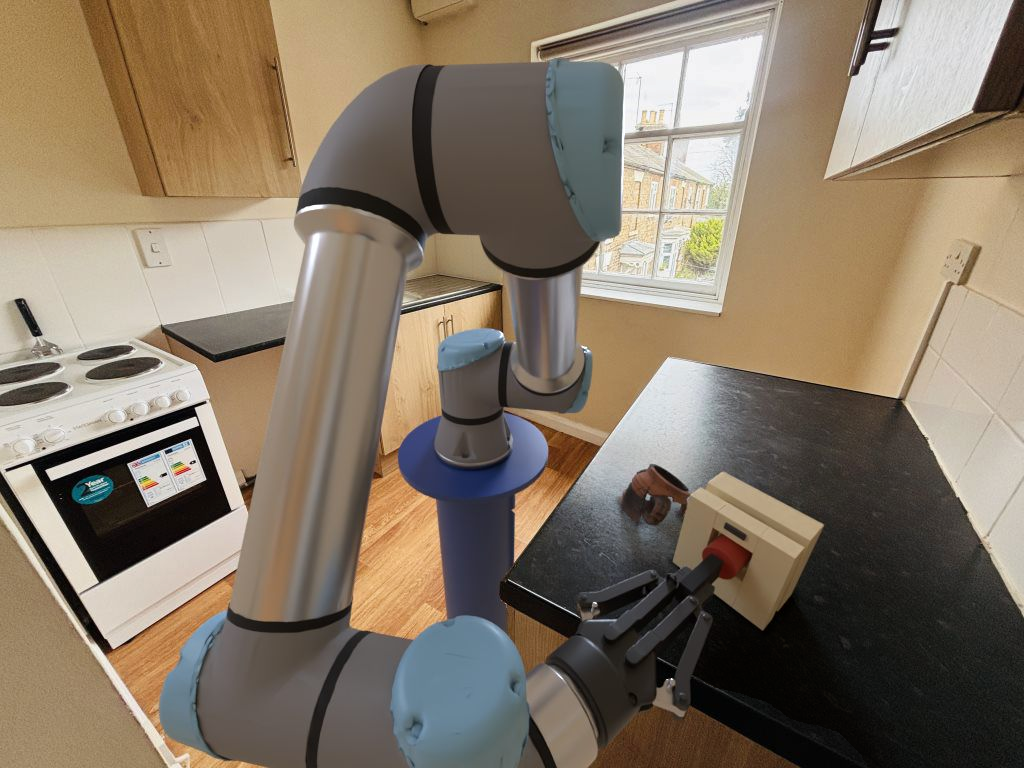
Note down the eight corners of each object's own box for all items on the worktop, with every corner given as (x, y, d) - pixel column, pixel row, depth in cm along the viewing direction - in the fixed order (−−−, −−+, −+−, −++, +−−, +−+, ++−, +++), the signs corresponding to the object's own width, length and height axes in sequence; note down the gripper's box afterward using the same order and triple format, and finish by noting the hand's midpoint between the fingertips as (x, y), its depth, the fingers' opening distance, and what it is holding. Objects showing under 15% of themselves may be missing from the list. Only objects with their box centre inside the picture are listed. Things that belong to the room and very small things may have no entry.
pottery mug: (613, 489, 70) (640, 452, 68) (660, 519, 69) (689, 482, 67) (619, 526, 58) (653, 482, 56) (676, 561, 58) (712, 518, 56)
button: (698, 563, 50) (705, 540, 48) (715, 548, 52) (723, 525, 50) (730, 586, 47) (739, 562, 45) (747, 569, 49) (756, 545, 47)
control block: (671, 563, 56) (688, 495, 50) (703, 535, 60) (723, 471, 55) (761, 632, 47) (794, 560, 42) (791, 594, 52) (824, 524, 46)
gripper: (520, 665, 40) (660, 551, 53) (624, 809, 31) (764, 629, 44) (522, 617, 37) (671, 508, 50) (639, 762, 28) (785, 583, 41)
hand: (714, 565), depth 47 cm, fingers closed
